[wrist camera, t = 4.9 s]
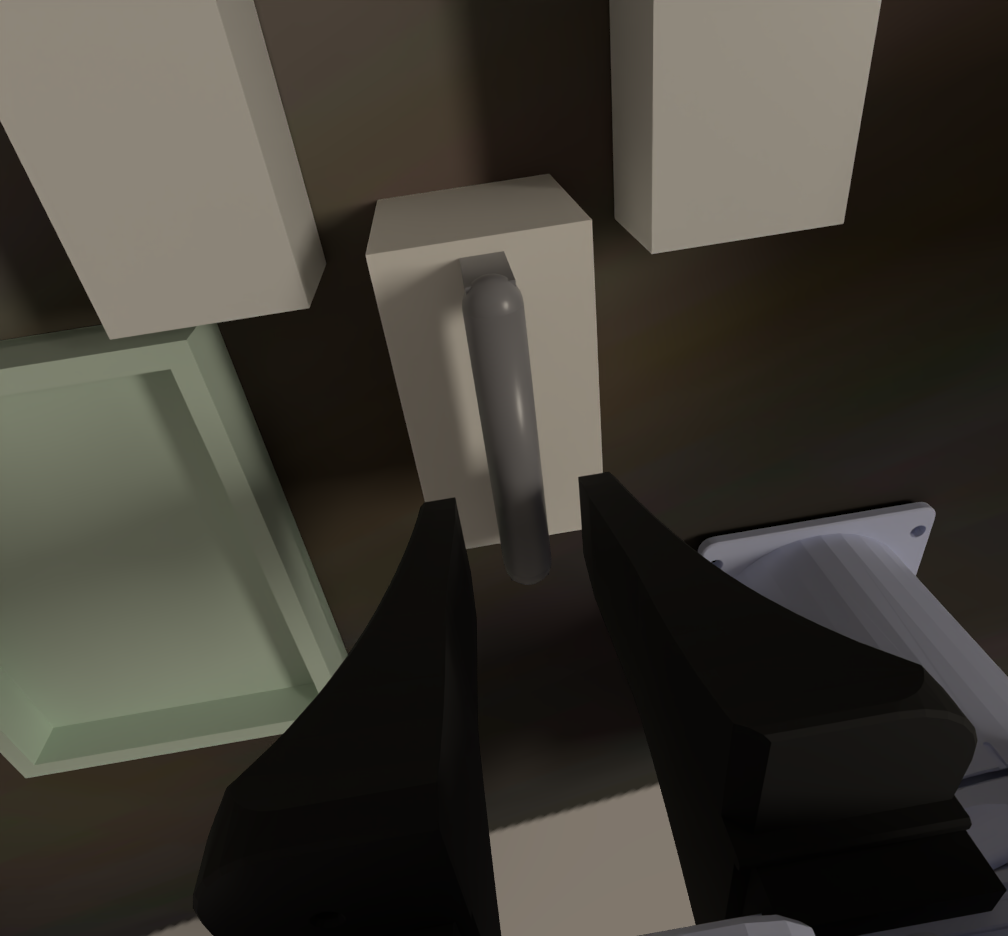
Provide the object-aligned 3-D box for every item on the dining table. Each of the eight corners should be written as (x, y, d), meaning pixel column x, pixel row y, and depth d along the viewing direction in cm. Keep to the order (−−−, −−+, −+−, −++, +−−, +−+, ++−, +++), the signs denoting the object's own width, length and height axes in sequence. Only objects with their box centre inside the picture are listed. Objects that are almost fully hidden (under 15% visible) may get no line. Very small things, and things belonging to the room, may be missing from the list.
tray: (355, 673, 24) (350, 721, 22) (53, 725, 23) (25, 778, 22) (210, 307, 16) (186, 340, 14) (-248, 379, 16) (-327, 421, 14)
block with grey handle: (568, 429, 19) (627, 585, 14) (433, 451, 19) (440, 617, 14) (548, 172, 15) (622, 251, 10) (377, 199, 15) (356, 293, 10)
